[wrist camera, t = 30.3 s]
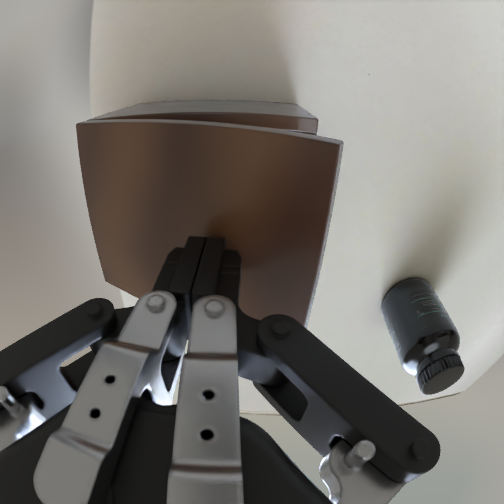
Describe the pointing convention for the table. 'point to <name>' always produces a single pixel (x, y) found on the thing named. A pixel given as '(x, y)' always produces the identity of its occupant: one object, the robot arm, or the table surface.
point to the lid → (211, 203)
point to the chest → (223, 113)
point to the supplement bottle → (423, 335)
